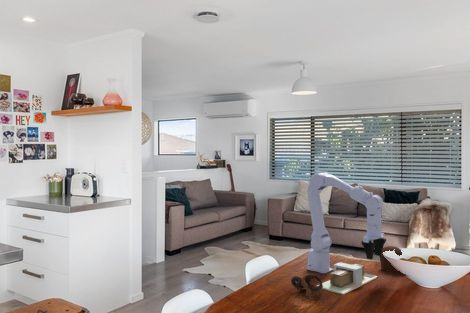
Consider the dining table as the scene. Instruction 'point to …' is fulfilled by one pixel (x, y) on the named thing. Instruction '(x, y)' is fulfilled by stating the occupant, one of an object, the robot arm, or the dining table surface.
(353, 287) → the tunnel
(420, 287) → the dining table surface
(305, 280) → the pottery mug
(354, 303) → the dining table surface
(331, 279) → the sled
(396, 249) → the muffin
